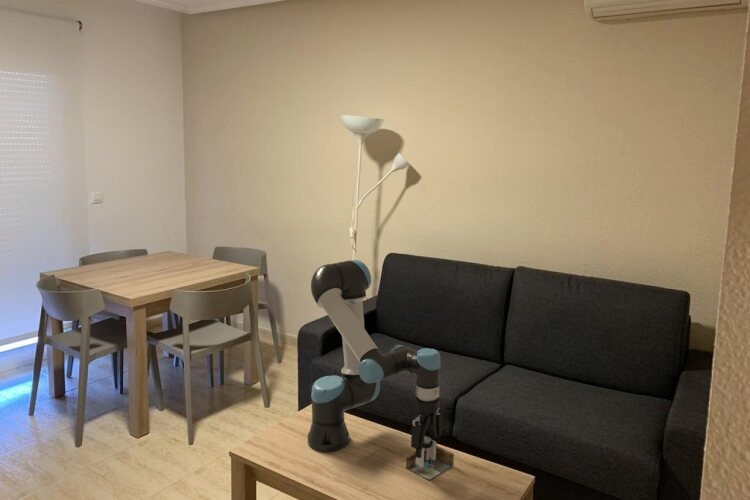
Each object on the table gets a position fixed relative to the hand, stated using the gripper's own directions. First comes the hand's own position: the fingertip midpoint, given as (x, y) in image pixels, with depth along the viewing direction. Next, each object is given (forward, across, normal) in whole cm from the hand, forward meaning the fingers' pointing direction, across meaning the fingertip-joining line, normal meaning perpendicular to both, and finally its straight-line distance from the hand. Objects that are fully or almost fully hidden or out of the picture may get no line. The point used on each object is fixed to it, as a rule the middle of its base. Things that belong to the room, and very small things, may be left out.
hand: (425, 461), depth 197 cm
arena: (+4, +4, +1) cm, 5 cm away
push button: (+2, -1, 0) cm, 2 cm away
